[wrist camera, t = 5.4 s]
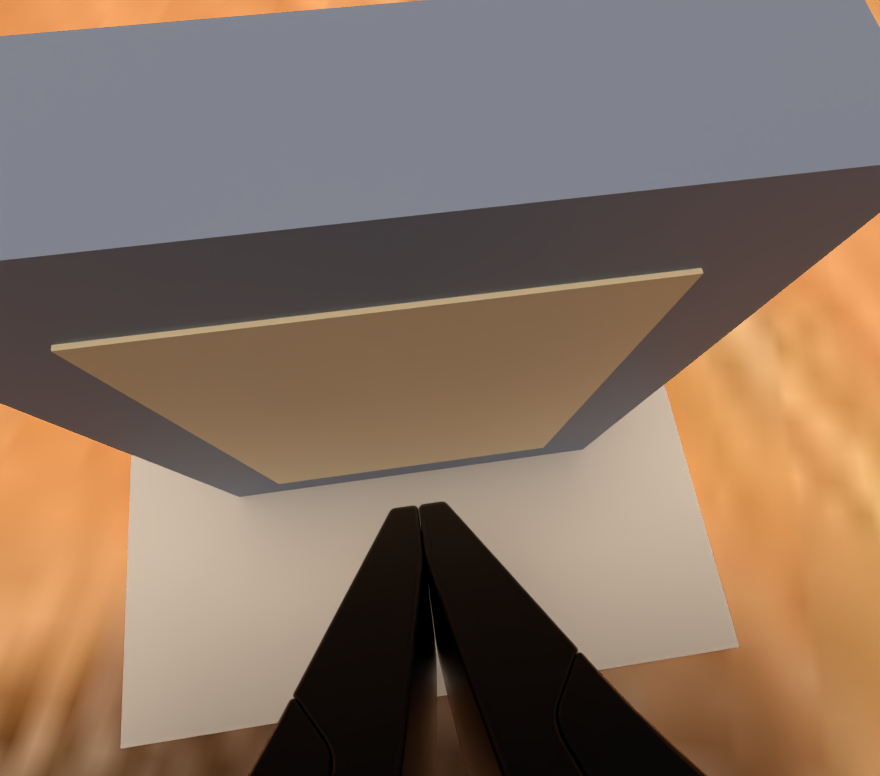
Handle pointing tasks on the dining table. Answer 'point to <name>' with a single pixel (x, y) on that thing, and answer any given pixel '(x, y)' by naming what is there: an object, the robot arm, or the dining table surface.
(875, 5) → the dining table surface
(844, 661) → the dining table surface
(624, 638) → the mat
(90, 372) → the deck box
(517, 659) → the robot arm
